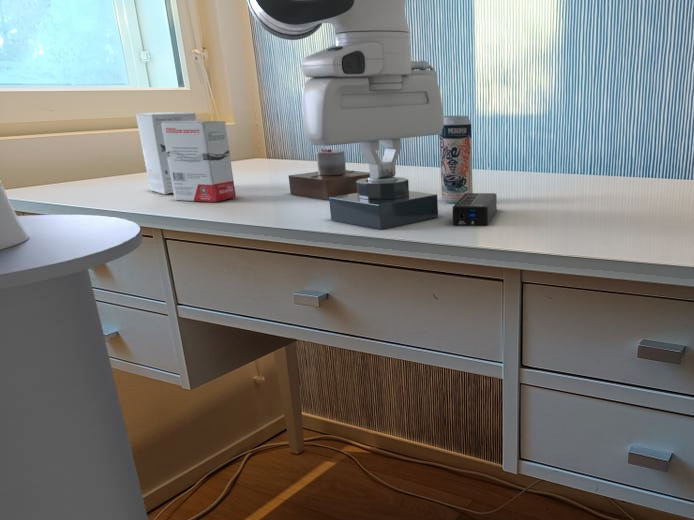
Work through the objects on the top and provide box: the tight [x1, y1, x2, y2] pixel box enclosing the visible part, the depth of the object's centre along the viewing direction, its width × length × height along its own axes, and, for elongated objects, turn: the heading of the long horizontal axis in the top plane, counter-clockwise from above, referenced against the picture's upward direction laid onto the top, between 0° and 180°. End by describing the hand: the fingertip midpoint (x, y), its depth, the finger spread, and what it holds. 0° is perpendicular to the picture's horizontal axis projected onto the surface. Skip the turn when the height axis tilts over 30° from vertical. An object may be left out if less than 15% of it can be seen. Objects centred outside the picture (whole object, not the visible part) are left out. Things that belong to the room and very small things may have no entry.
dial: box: [315, 148, 347, 176], centre depth 110 cm, size 4×4×4 cm
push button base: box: [328, 176, 439, 230], centre depth 89 cm, size 10×10×5 cm
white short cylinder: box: [368, 175, 397, 182], centre depth 89 cm, size 4×4×2 cm
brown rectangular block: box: [288, 169, 370, 201], centre depth 112 cm, size 10×10×3 cm
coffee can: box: [438, 115, 474, 204], centre depth 100 cm, size 5×5×12 cm
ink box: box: [161, 120, 237, 203], centre depth 106 cm, size 8×5×12 cm, turn 68°
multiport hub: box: [452, 192, 498, 227], centre depth 90 cm, size 4×11×2 cm, turn 173°
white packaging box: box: [135, 111, 197, 195], centre depth 116 cm, size 7×7×13 cm
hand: (382, 177), depth 88 cm, fingers closed, pressing on white short cylinder
